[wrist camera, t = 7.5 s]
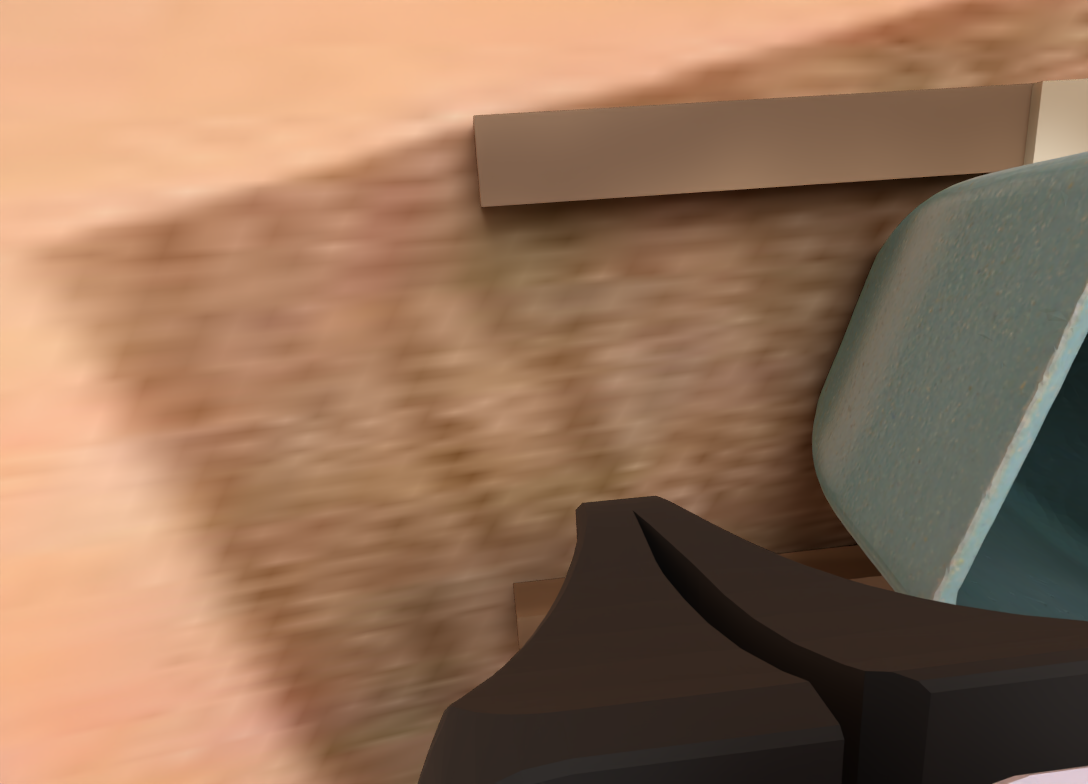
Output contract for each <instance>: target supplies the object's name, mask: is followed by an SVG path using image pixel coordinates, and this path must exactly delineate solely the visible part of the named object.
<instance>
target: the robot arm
mask: <svg viewBox="0 0 1088 784" xmlns="http://www.w3.org/2000/svg"><path fill="white" fill-rule="evenodd" d="M576 526H577V544H576V548H575V552H574V556H573V559H572V562H571V565H570V567H569V570H568V573H567V575H566V578H565V580H564V583H563V585H562V587H561V589H560V591H559V593H558V595H557V597H556V599H555V601H554V603H553V604H552V606H551V608H550V610H549V611H548V613H547V615H546V616H545V618H544V619H543V620H542V622H541V623H540V625H539V626H538V628H537V629H536V630H535V632H534V633H533V635H532V636H531V637H530V639H529V640H528V641H527V642H526V644H525V645H524V646H523V647H522V648H521V649H520V650H519V651H518V652H517V653H516V654H515V655H514V656H513V657H512V658H511V659H510V661H509V662H508V663H507V664H506V665H505V666H504V667H502V668H501V669H500V670H499V671H498V672H496V673H495V674H494V675H493V676H492V677H490V678H489V679H487V680H486V681H485V682H483V683H482V684H480V685H479V686H477V687H476V688H475V689H473V690H472V691H470V692H469V693H468V694H466V695H465V696H463V697H462V698H460V699H459V700H457V701H456V702H454V703H452V704H451V705H450V706H449V707H448V708H447V709H446V710H445V711H444V713H443V716H442V718H441V720H440V723H439V725H438V728H437V730H436V733H435V736H434V738H433V741H432V743H431V746H430V749H429V751H428V754H427V757H426V760H425V763H424V766H423V769H422V772H421V775H420V778H419V781H418V784H1088V621H1082V620H1071V619H1061V618H1050V617H1039V616H1029V615H1020V614H1012V613H1005V612H999V611H992V610H986V609H980V608H973V607H967V606H961V605H955V604H949V603H944V602H939V601H934V600H929V599H924V598H919V597H915V596H911V595H906V594H902V593H898V592H894V591H890V590H886V589H882V588H878V587H873V586H869V585H866V584H862V583H859V582H855V581H852V580H848V579H845V578H842V577H839V576H836V575H833V574H830V573H827V572H824V571H821V570H818V569H815V568H812V567H809V566H806V565H803V564H801V563H798V562H795V561H793V560H790V559H788V558H785V557H783V556H780V555H778V554H776V553H773V552H771V551H769V550H766V549H764V548H762V547H760V546H757V545H755V544H753V543H751V542H748V541H746V540H744V539H742V538H740V537H738V536H736V535H734V534H732V533H730V532H728V531H726V530H724V529H722V528H720V527H718V526H716V525H714V524H712V523H710V522H708V521H706V520H704V519H702V518H701V517H699V516H697V515H695V514H693V513H691V512H689V511H687V510H685V509H683V508H682V507H680V506H678V505H676V504H674V503H672V502H670V501H668V500H665V499H663V498H660V497H658V496H649V497H639V498H629V499H618V500H608V501H598V502H587V503H582V504H581V505H580V506H579V507H578V508H577V509H576Z"/></svg>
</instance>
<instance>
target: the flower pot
mask: <svg viewBox="0 0 1088 784" xmlns="http://www.w3.org/2000/svg"><path fill="white" fill-rule="evenodd" d="M812 453H813V461H814V466H815V471H816V475H817V478H818V480H819V483H820V485H821V488H822V490H823V493H824V495H825V497H826V499H827V500H828V502H829V504H830V506H831V507H832V509H833V511H834V512H835V514H836V515H837V517H838V518H839V519H840V521H841V522H842V524H843V525H844V526H845V528H846V529H847V530H848V532H849V533H850V534H851V536H852V537H853V538H854V540H855V541H856V542H857V544H858V545H859V546H860V547H861V549H862V550H863V551H864V553H865V554H866V555H867V557H868V558H869V559H870V561H871V562H872V563H873V564H874V566H875V567H876V568H877V569H878V571H879V572H880V573H881V574H882V576H883V577H884V578H885V580H886V581H887V582H888V583H889V585H890V586H891V587H892V588H893V590H894V591H895V592H898V593H902V594H906V595H911V596H915V597H919V598H924V599H929V600H934V601H939V602H944V603H949V604H955V605H961V606H967V607H973V608H980V609H986V610H992V611H999V612H1005V613H1012V614H1020V615H1029V616H1039V617H1050V618H1061V619H1071V620H1082V621H1088V151H1087V152H1082V153H1078V154H1073V155H1069V156H1064V157H1060V158H1055V159H1050V160H1046V161H1041V162H1037V163H1032V164H1028V165H1023V166H1019V167H1014V168H1010V169H1006V170H1001V171H997V172H993V173H989V174H985V175H982V176H978V177H974V178H972V179H969V180H966V181H963V182H960V183H957V184H955V185H952V186H950V187H948V188H946V189H944V190H942V191H940V192H938V193H937V194H935V195H933V196H932V197H930V198H929V199H927V200H926V201H924V202H923V203H922V204H920V205H919V206H918V207H917V208H915V209H914V210H913V211H912V212H911V213H910V214H909V215H908V216H907V217H906V218H905V219H904V220H903V221H902V222H901V223H900V224H899V225H898V226H897V227H896V229H895V230H894V231H893V232H892V234H891V235H890V236H889V238H888V239H887V240H886V242H885V243H884V245H883V246H882V248H881V250H880V251H879V253H878V254H877V256H876V258H875V260H874V263H873V265H872V267H871V270H870V272H869V275H868V277H867V280H866V282H865V284H864V287H863V289H862V292H861V294H860V297H859V299H858V302H857V304H856V307H855V309H854V312H853V315H852V317H851V320H850V323H849V325H848V328H847V330H846V333H845V335H844V338H843V340H842V343H841V345H840V348H839V350H838V352H837V355H836V357H835V359H834V362H833V364H832V366H831V369H830V371H829V374H828V376H827V379H826V382H825V384H824V387H823V389H822V392H821V394H820V397H819V400H818V403H817V409H816V414H815V419H814V425H813V433H812Z"/></svg>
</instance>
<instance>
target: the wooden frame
mask: <svg viewBox="0 0 1088 784" xmlns="http://www.w3.org/2000/svg"><path fill="white" fill-rule="evenodd" d="M473 125H474V137H475V148H476V160H477V171H478V183H479V194H480V206H481V207H489V206H503V205H518V204H533V203H547V202H562V201H577V200H592V199H606V198H621V197H636V196H650V195H665V194H680V193H694V192H709V191H724V190H739V189H753V188H768V187H783V186H797V185H812V184H827V183H841V182H856V181H871V180H885V179H900V178H915V177H930V176H944V175H959V174H974V173H988V172H997V171H1001V170H1006V169H1010V168H1014V167H1019V166H1023V165H1028V164H1032V163H1037V162H1041V161H1046V160H1050V159H1055V158H1060V157H1064V156H1069V155H1073V154H1078V153H1082V152H1087V151H1088V79H1073V80H1056V81H1042V82H1037V83H1031V84H1014V85H996V86H979V87H961V88H944V89H927V90H909V91H892V92H875V93H857V94H840V95H823V96H805V97H788V98H771V99H753V100H736V101H718V102H701V103H684V104H666V105H649V106H632V107H614V108H597V109H580V110H562V111H545V112H527V113H510V114H493V115H475V116H473ZM778 555H780V556H783V557H785V558H788V559H790V560H793V561H795V562H798V563H801V564H803V565H806V566H809V567H812V568H815V569H818V570H821V571H824V572H827V573H830V574H833V575H836V576H839V577H842V578H845V579H848V580H852V581H855V582H859V583H862V584H866V585H869V586H873V587H878V588H882V589H886V590H890V591H894V590H893V588H892V587H891V586H890V585H889V583H888V582H887V581H886V580H885V578H884V577H883V576H882V574H881V573H880V572H879V571H878V569H877V568H876V567H875V566H874V564H873V563H872V562H871V561H870V559H869V558H868V557H867V555H866V554H865V553H864V551H863V550H862V549H861V547H860V546H859V545H854V546H845V547H836V548H827V549H818V550H809V551H800V552H791V553H782V554H778ZM564 580H565V578H557V579H548V580H539V581H530V582H521V583H513V585H514V597H515V608H516V620H517V631H518V642H519V650H520V649H521V648H522V647H523V646H524V645H525V644H526V642H527V641H528V640H529V639H530V637H531V636H532V635H533V633H534V632H535V630H536V629H537V628H538V626H539V625H540V623H541V622H542V620H543V619H544V618H545V616H546V615H547V613H548V611H549V610H550V608H551V606H552V604H553V603H554V601H555V599H556V597H557V595H558V593H559V591H560V589H561V587H562V585H563V583H564ZM894 592H895V591H894Z"/></svg>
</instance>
